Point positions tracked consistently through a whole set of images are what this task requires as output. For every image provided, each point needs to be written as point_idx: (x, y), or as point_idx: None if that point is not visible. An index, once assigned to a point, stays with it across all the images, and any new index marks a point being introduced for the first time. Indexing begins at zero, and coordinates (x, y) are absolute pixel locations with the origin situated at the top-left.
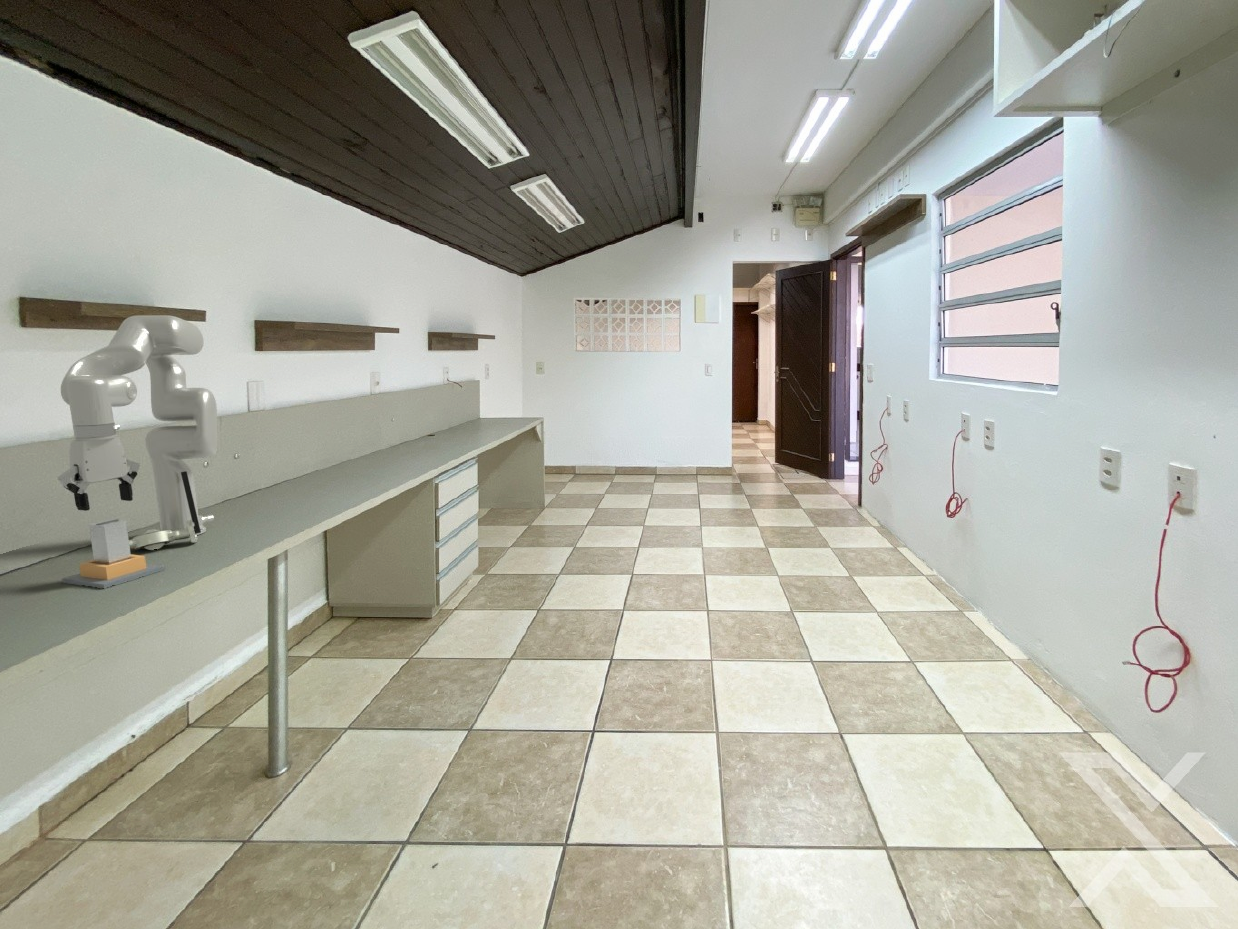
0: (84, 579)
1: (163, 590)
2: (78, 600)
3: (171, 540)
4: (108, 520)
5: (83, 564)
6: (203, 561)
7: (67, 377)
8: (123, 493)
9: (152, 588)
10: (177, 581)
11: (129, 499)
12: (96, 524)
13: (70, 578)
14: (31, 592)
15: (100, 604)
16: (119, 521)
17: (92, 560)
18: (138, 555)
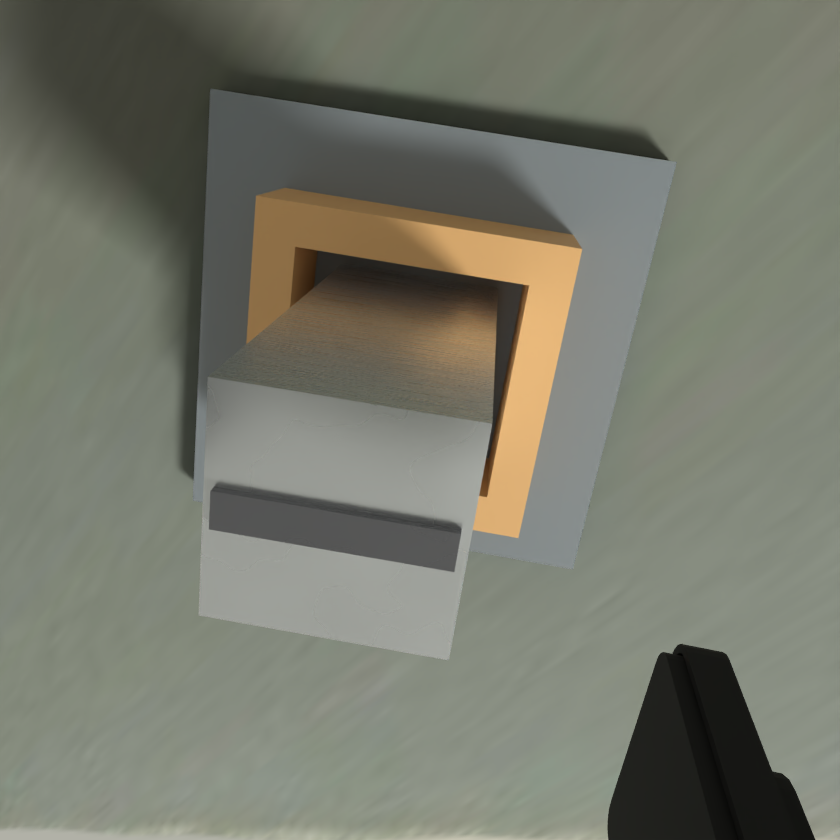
0: (233, 290)
1: (264, 780)
2: (34, 508)
3: None
4: (428, 446)
5: (252, 251)
6: (767, 655)
7: None
8: (656, 831)
9: (274, 716)
10: (392, 755)
11: (608, 837)
12: (211, 496)
13: (226, 161)
14: (22, 74)
15: (35, 654)
16: (401, 621)
17: (351, 225)
18: (526, 480)
